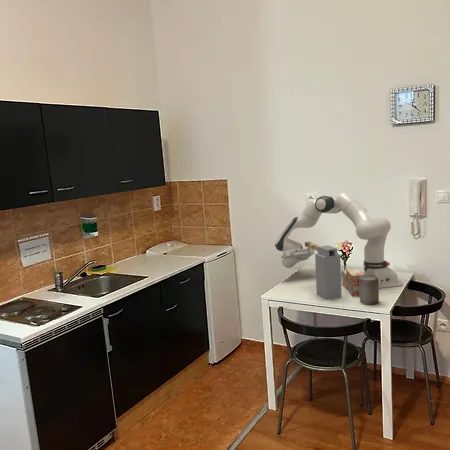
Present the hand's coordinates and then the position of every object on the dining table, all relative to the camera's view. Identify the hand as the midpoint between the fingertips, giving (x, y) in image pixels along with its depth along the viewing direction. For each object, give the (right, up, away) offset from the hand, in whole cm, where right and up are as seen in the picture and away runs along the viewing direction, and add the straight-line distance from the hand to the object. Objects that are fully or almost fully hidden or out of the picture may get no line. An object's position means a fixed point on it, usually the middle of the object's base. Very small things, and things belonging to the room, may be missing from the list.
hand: (302, 249), depth 279 cm
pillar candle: (+28, -26, -39) cm, 55 cm away
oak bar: (+5, +1, -16) cm, 17 cm away
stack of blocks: (+26, -23, -19) cm, 39 cm away
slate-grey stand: (+10, -25, -25) cm, 37 cm away
